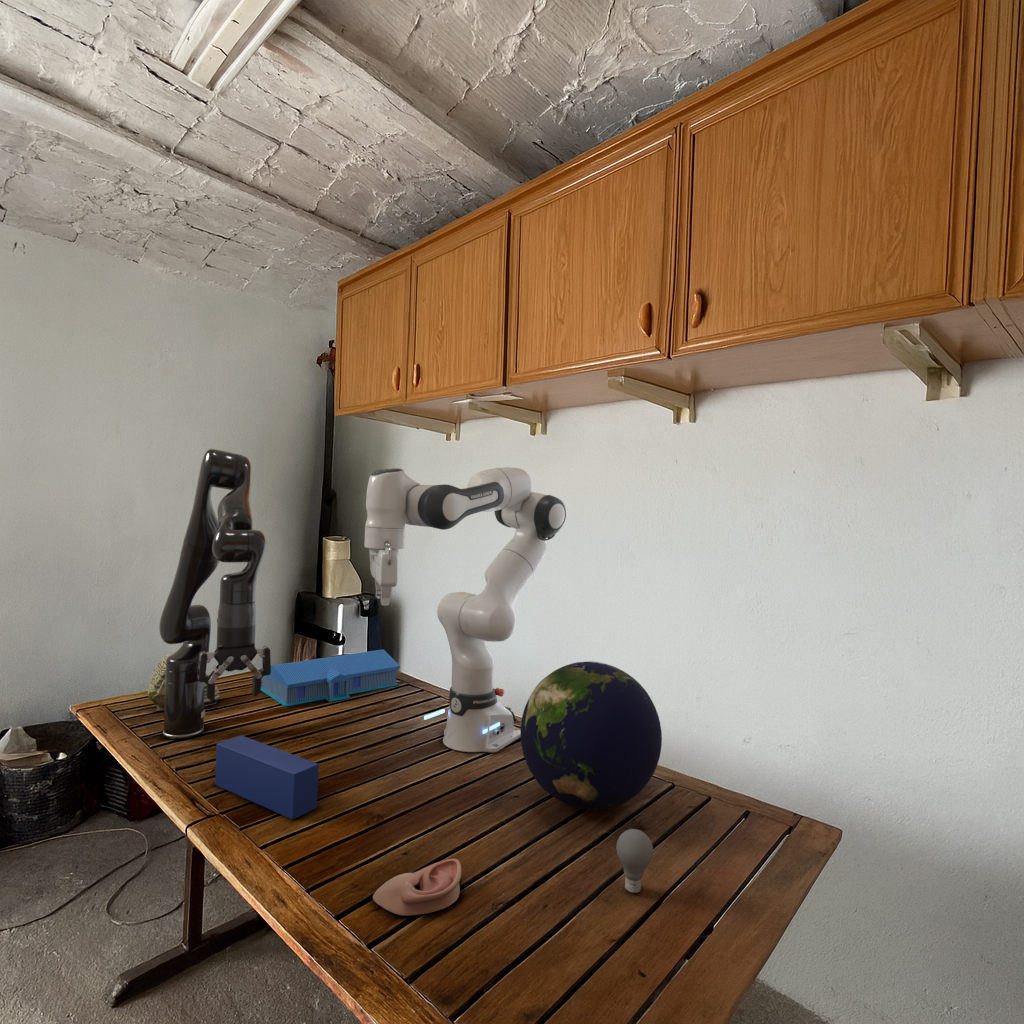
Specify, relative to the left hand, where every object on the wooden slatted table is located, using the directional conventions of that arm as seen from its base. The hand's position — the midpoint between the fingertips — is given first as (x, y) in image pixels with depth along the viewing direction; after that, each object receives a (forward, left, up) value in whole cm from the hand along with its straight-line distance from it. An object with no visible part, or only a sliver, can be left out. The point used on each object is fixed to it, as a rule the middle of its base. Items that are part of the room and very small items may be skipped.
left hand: (233, 697), depth 136 cm
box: (+8, +4, -20) cm, 21 cm away
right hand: (+15, +26, +21) cm, 37 cm away
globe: (+53, +56, -20) cm, 79 cm away
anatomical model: (+56, +10, -20) cm, 60 cm away
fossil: (-60, +8, -20) cm, 64 cm away
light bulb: (+78, +38, -20) cm, 88 cm away
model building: (-51, +50, -20) cm, 74 cm away
